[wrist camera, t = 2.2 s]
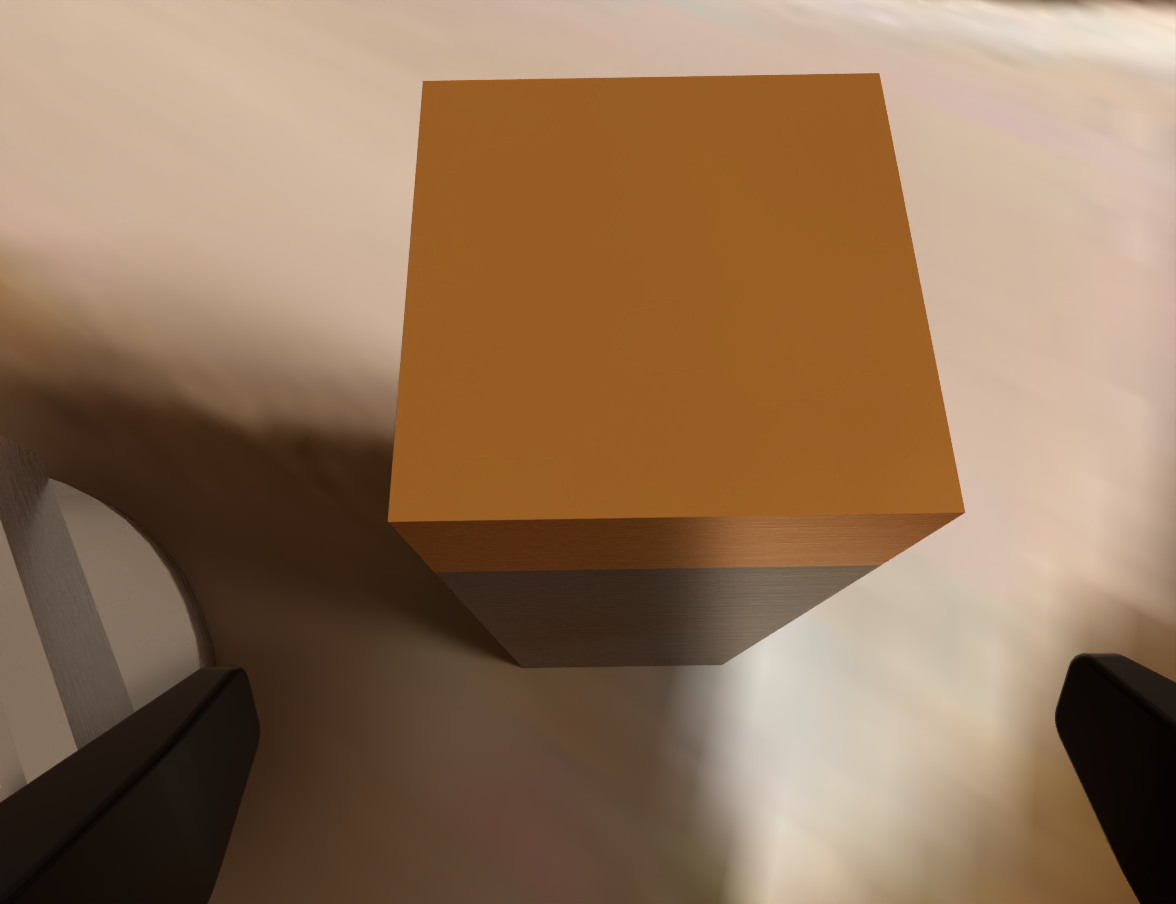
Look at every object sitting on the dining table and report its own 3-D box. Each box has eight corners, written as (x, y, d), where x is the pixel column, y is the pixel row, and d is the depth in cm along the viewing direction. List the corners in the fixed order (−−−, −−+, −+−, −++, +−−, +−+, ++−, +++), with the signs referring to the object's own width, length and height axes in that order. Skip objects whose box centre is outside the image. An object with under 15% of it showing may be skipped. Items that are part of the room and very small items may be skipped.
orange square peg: (722, 664, 19) (965, 512, 6) (522, 668, 19) (387, 522, 6) (708, 475, 20) (878, 73, 8) (525, 479, 20) (422, 80, 8)
